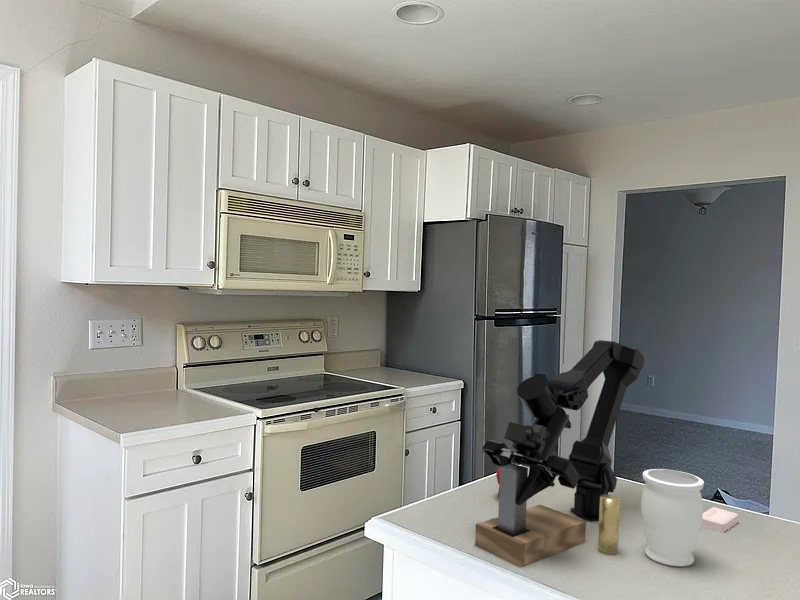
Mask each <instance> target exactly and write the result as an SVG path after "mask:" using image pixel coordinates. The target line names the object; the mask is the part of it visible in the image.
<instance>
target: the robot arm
mask: <svg viewBox="0 0 800 600" xmlns="http://www.w3.org/2000/svg"><path fill="white" fill-rule="evenodd" d="M644 365H645V357H644V355H643V354H642V353H641V350H639V349H638V348H631V347H627V346H624V345H622V344H621V343H619V342H616V341H613V340H612V341H611V340H602V339H599V340H596V341H594V342H593V345H592V348H590V350H589V351H587V353H586V354H585V355H584V356H583V357H581V358H580V360H579V361H578V362H577V363H576V364H575V365H573V367H572V368H571V369H570V370H568V371H565V372H560V373H557V374H555V376H553V377H552V378H550V379H549V380H548V376H547V375H546V374H545V373H540V372H536V373H535V374H534V375H533V376H531V377H528V378H526V379H523V381H522V382H520V383H519V384H518V386H517V388H516V393H517V396H518V397H519V399H520V401H521V402H522V404H523V406H524V407H525V409H526V410H527V412H528V413H529V415H530V416H531V417H534V419H533V421H532V423H531V424H530V425H525V424H520V423H515V422H511V421H509V422H508V423H507V427H506V431H505V433H504V440H508V441H510V442H512V444H511V446H512V448H513V449H514V450H516V451H513V450H511V449H509V447H508V446H507V444H506V443H505V442H504V441H503V442H502V441H498V440H494V439H487V440H486V441H485V442H484V444H483V445H482V447H481V451H482V452H483V454H485V455H484V456H486V457H487V459H488V460H489V461H490V464H491V465H493V466H494V467H498V468H499V467H501V466H505V465H508V464H511V463H512V464H516V465H518V464H519V466H523V467H526V468H528V477H527V479H526V481H525V483H524V485H523V487H522V489H521V491H520V492H519V494H518V497H517V499H516V503H517V505H521V504H522V503H524V502H525V501H528V500H530V499H531V498H532V497H534V496H536V495H537V494H538V493H540V492H543V490H545V489H547V488H549V487H555V482H554V481H555V480H556V478H557V477H558V478H557V481H558V482H559V485H560V486H562V487H566V488H570V489H573V490H574V489H575V492H574V497H573V498H574V500H573V501H574V503H573V507H571V508H570V511H571V513H574V514H576V515H578V516H580V517H582V518H584V519H585V520H588V521H597V520H598V521H599V510H600V496H601V495H609V493H615V489H616V487H617V482H618V478H617V476H616V475H615V473H614V471H613V469H612V467H611V466H612V457H611V453H610V450H609V444H610V442H611V439H612V435H613V432H614V428H615V426H616V422H617V419H618V416H619V413H620V410H621V406H622V403H623V400H624V396H625V393H626V390H627V388H628V387H629V386H631V384H633V383H634V382H635V381H636V380H638V378H639V376H640V373H641V370H642V369H643V368H644ZM602 373H603V375H604V382H603V384H602V388H601V390H600V393H599V397H598V400H597V402H596V405H595V407H594V408H595V409H594V412H593V415H592V418H591V420H590V424H589V425H588V426H589V427H588V429H587V433H586V435H585V437H584V438H583V439H582V440H581V441H580V440H575V441H574V443H573V444H572V448H571V452H570V454H569V455H568V458H565V457H561V456H556V455H551V454H552V452H555V453H557V452H558V449H559V447H558V444H557V443H558V441H559V439H560V437H561V435H562V432H563V431H564V429H572V423H571V420H570V414H567V413H566V410H571V411H579V410H580V409H581V408H582V407H583V406H584V404H585V402H586V401H587V399H588V398H589V391H588V389H589V388H590V386H591V385H592V384H593V383H594V382H595V381H596V379H597V378H598V377H599V376H600V375H601V374H602ZM564 409H566V410H564ZM497 497H498V498H499V491H498V492H497Z"/></svg>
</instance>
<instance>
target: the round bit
mask: <svg viewBox="0 0 800 600" xmlns="http://www.w3.org/2000/svg"><path fill="white" fill-rule="evenodd" d="M620 516H621V498H620V497H618V496H617V495H613V494H608V495H601V496H600V510H599V519H598V537H597V551H598V552H599V553H601V554H604V555H607V556H608V555H609V556H616V555H618V553H619V539H620V537H619V536H620V519H621V518H620Z"/></svg>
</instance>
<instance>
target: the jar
mask: <svg viewBox="0 0 800 600" xmlns="http://www.w3.org/2000/svg"><path fill="white" fill-rule="evenodd" d="M642 479H643V481H644V482H645V483H644V485H643V489H642V494H641V500H640V513H641V521H642V530H643V536H644V538H645V539H644V540H645V541H646V543H647V545H646V547H645V548H644V553H645V555H646V556H647V557H648V558H649V559H650V560H653V561H654V562H656V563H660V564H662V565H666V566H670V567H689V566H690V565H692V564H694V563H695V558H694V555H693V551H694V550H695V548H696V546H697V544H698V541H699V535H700V531H701V523H702V516H703V513H704V512H703V509H704V508H703V507H704V506H703V498H702V493H701V490H702V489H703V488H704V487H705V484H704V483H705V482H704V480H703V479H702V478H700V477H698V476H697V475H694V474H691V473H689V472H684V471H680V470H676V469H675V470H673V469H666V468H654V469H650V468H649V469H646V470H644V471H643V472H642Z"/></svg>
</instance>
